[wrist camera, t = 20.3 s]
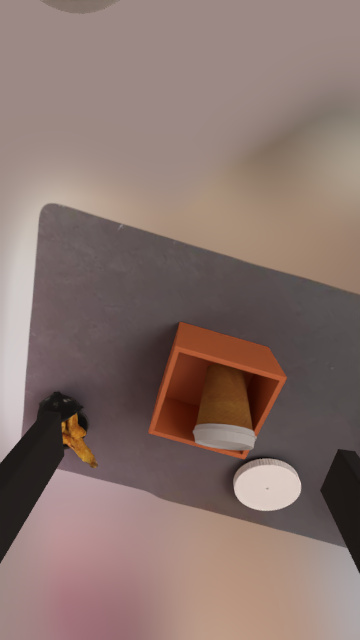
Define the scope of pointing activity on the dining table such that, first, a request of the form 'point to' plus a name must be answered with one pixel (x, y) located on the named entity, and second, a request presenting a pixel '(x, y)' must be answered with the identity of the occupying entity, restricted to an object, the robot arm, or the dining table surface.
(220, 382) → the disposable coffee cup
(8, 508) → the robot arm
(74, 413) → the fried shrimp in bowl
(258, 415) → the open box
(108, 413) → the dining table surface
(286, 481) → the plastic lid
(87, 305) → the dining table surface
